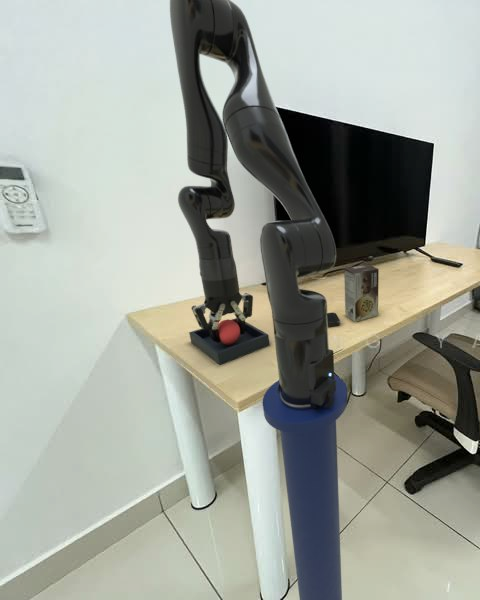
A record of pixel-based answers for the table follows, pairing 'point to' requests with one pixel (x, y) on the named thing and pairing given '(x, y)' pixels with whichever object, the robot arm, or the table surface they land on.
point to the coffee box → (361, 292)
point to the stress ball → (228, 331)
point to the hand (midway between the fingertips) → (229, 337)
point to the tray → (225, 353)
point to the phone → (333, 319)
